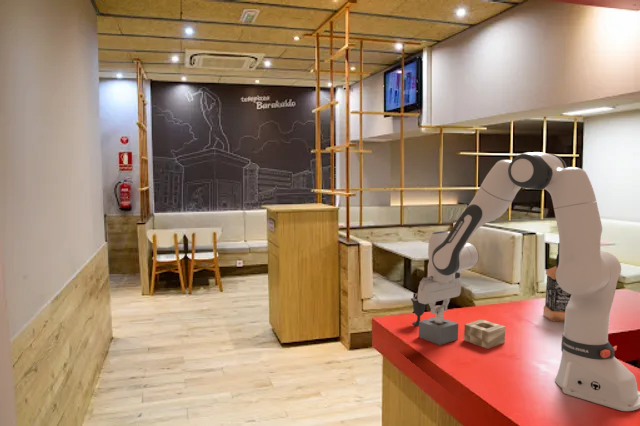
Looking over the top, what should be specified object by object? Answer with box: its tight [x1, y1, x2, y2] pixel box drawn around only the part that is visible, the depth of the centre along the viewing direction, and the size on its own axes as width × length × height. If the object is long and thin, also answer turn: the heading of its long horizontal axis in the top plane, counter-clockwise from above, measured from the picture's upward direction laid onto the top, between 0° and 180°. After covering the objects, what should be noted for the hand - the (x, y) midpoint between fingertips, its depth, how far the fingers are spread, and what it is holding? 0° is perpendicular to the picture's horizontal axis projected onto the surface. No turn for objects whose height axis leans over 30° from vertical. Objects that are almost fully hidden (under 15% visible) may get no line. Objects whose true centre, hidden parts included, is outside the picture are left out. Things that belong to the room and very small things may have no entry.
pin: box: [434, 304, 445, 326], centre depth 176 cm, size 3×3×12 cm
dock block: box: [418, 316, 459, 346], centre depth 177 cm, size 10×10×6 cm
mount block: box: [463, 319, 506, 350], centre depth 173 cm, size 10×10×6 cm
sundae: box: [410, 292, 426, 327], centre depth 192 cm, size 7×7×15 cm
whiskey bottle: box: [542, 242, 571, 323], centre depth 199 cm, size 10×10×32 cm
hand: (438, 311), depth 176 cm, fingers open, 4 cm apart
